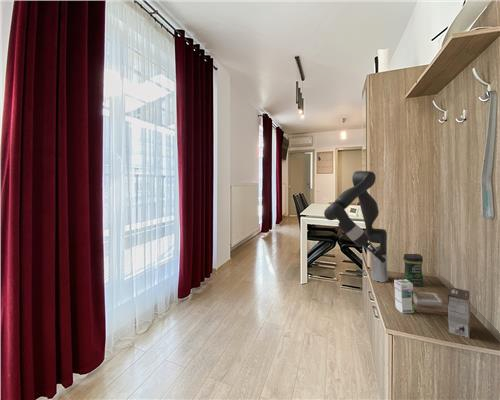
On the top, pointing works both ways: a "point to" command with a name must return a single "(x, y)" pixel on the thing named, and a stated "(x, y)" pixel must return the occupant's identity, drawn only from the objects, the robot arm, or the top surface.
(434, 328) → the top surface
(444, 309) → the carrier board
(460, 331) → the coffee box
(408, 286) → the syrup box
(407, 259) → the coffee jar
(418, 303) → the socket collar
